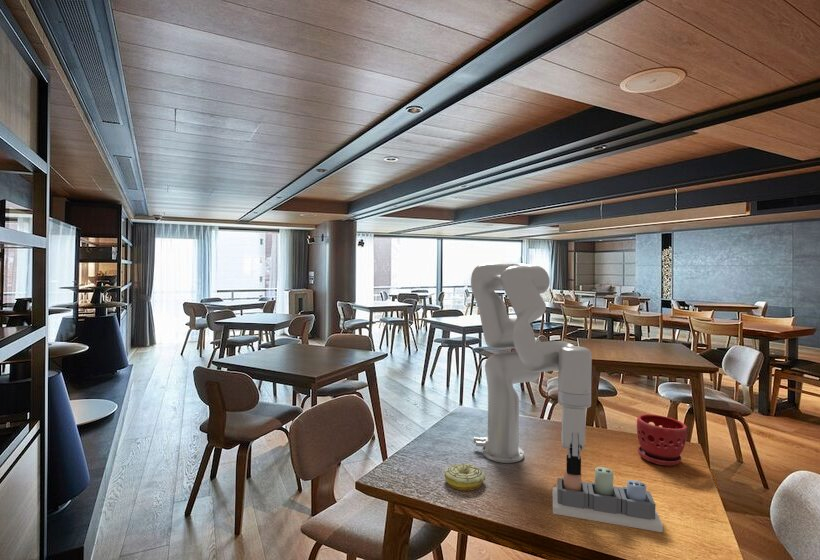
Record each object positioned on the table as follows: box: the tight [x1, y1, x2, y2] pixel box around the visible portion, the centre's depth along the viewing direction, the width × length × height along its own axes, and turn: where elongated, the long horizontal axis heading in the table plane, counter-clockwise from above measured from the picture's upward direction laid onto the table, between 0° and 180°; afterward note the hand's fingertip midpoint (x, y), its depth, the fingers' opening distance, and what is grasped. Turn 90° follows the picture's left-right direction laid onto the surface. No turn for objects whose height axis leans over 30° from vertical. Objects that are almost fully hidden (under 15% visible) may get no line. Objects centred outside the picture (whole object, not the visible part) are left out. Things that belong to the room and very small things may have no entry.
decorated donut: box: [444, 462, 486, 492], centre depth 116 cm, size 10×11×4 cm
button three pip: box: [626, 479, 647, 502], centre depth 101 cm, size 4×4×5 cm
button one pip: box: [563, 469, 582, 492], centre depth 105 cm, size 4×4×5 cm
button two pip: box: [594, 466, 614, 496], centre depth 103 cm, size 4×4×5 cm
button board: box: [552, 477, 664, 533], centre depth 103 cm, size 23×10×5 cm, turn 72°
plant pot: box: [636, 414, 688, 466], centre depth 131 cm, size 13×13×12 cm
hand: (573, 472), depth 105 cm, fingers closed
